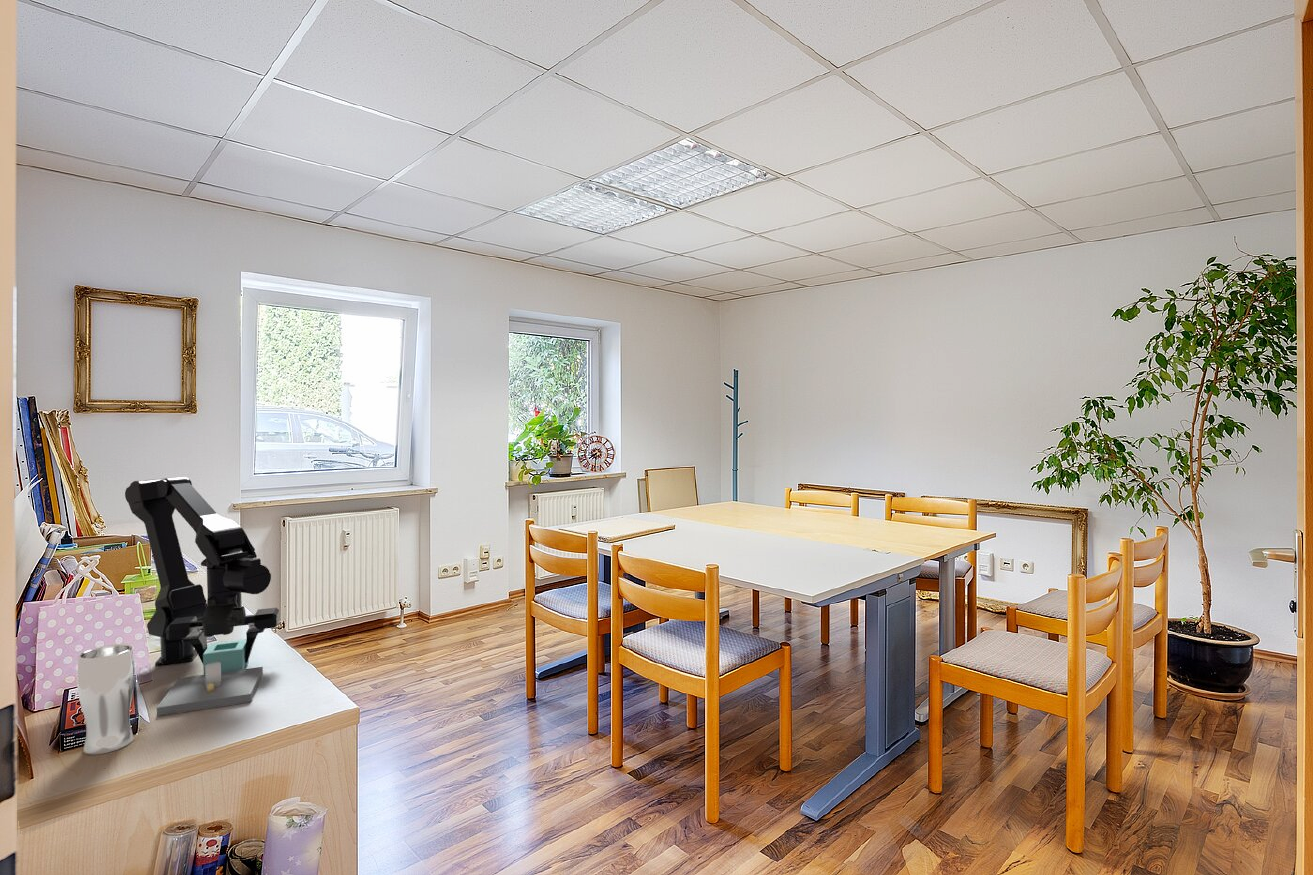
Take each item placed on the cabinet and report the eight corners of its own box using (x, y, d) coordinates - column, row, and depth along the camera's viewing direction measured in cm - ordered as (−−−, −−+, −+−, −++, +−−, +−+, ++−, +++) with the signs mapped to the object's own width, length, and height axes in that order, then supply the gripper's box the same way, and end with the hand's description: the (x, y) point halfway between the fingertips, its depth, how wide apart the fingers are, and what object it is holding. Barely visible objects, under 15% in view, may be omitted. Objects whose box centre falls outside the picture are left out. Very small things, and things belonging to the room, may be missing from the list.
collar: (211, 667, 136) (210, 643, 136) (248, 662, 139) (247, 639, 138) (203, 679, 130) (203, 654, 130) (242, 673, 133) (242, 649, 132)
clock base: (178, 685, 127) (177, 657, 127) (262, 674, 132) (262, 646, 132) (157, 716, 114) (155, 684, 114) (251, 701, 120) (250, 671, 119)
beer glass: (90, 760, 99) (86, 662, 99) (72, 748, 103) (68, 653, 103) (144, 741, 105) (141, 648, 105) (126, 730, 109) (123, 640, 108)
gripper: (156, 604, 123) (159, 687, 123) (271, 593, 130) (274, 671, 131) (172, 590, 133) (175, 666, 133) (279, 580, 140) (281, 652, 141)
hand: (226, 664), depth 134 cm, fingers closed on collar, 7 cm apart
